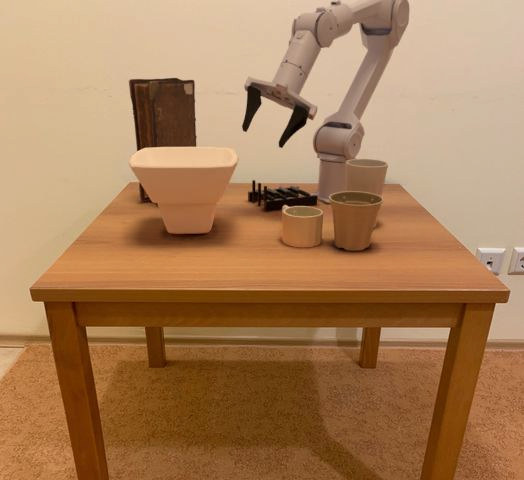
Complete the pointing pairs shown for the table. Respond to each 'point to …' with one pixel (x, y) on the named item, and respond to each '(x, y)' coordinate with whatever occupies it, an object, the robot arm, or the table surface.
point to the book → (163, 114)
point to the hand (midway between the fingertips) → (262, 137)
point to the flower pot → (354, 218)
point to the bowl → (185, 183)
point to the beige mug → (301, 226)
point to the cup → (366, 176)
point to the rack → (280, 197)
